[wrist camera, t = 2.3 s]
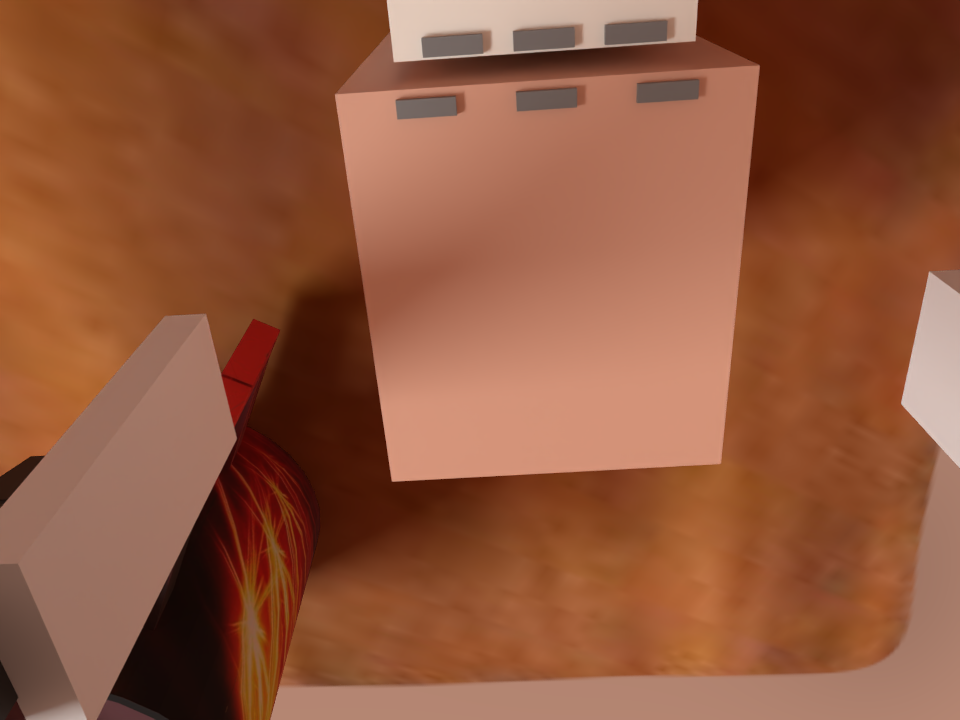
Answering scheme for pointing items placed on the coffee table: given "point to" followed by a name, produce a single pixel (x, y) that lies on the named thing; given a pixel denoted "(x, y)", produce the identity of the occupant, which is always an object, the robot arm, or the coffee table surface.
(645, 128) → the stub
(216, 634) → the mug
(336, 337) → the coffee table surface
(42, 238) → the coffee table surface
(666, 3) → the two-tone box
